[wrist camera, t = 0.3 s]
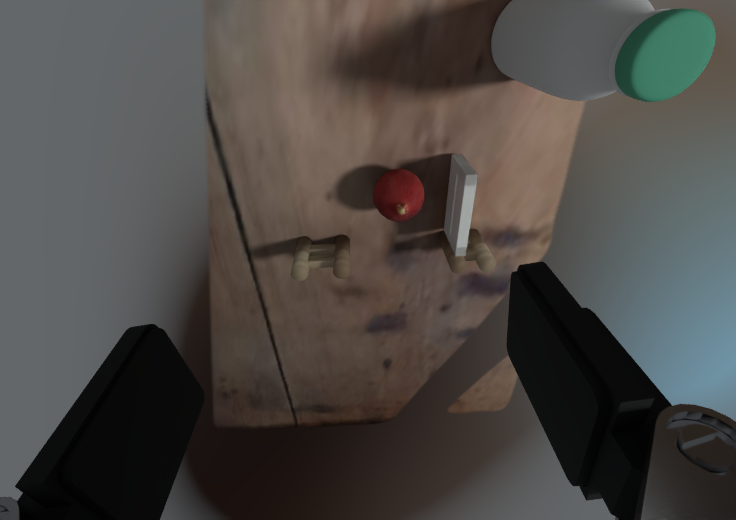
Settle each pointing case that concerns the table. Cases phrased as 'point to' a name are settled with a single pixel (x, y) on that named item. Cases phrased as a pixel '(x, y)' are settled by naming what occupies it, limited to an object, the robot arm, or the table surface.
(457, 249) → the gate
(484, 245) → the fence
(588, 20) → the milk bottle
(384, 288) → the table surface
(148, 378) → the robot arm
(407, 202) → the onion
